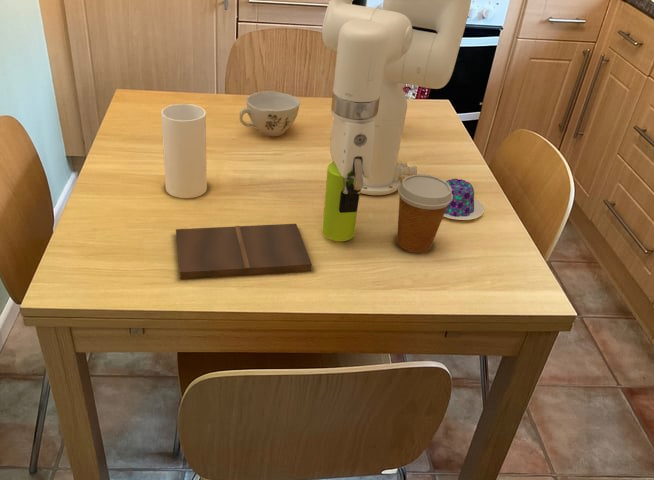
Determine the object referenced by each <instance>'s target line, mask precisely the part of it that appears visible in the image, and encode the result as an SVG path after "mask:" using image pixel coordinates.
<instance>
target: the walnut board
mask: <svg viewBox="0 0 654 480" xmlns="http://www.w3.org/2000/svg"><path fill="white" fill-rule="evenodd" d="M175 239H176V248H177V249H176V250H177V257H178V267H179V268H178V269H179V279H180V280H193V279H194V280H195V279H208V278H223V277H224V278H225V277H239V276H240V277H241V276H254V275H255V276H256V275H272V274H273V275H274V274H288V273H305V272H312V267H313V263H312V261H311V258H310V256H309V253H308V250H307V248H306V245H305V242H304V240H303V238H302V235H301V232H300V230H299V227H298V225H297V223H277V224H257V225H256V224H255V225H235V226H217V227H215V226H214V227H196V228H194V227H193V228H176V229H175Z"/></svg>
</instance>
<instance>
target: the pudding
mask: <svg viewBox="0 0 654 480" xmlns="http://www.w3.org/2000/svg"><path fill="white" fill-rule="evenodd" d="M445 181H446V182H447V183H448V184H449V185H450V186H451V189H452V194H453V199H452V201H451V202H450V203H449V205H448V206H447V208H446V211H445V213H444V216H443V218H448V219H452V220H457V221H458V220H459V221H470V220H473V219H474V220H475V219H478V218H480V217H481V216H482V215H483V214H485V213H484V212H485V207H484V204H483V203H482V202H481V201H480V200H479V199H477V198H476V197H475V189H474V187H473V185H472V183H471V182H469V181H466V180H465V179H462V178H461V179H458V178H451V179H447V180H445Z"/></svg>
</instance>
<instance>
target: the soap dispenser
mask: <svg viewBox="0 0 654 480" xmlns="http://www.w3.org/2000/svg"><path fill="white" fill-rule="evenodd" d="M348 175H353V171H352V172H350V173H348ZM353 182H354V179H348V186H349V185H350V184H353ZM325 183H326V184H325V194H324V206H323V207H324V208H323V217H322V230H321V231H322V235H323V236H324V237H325V238H326V239H328V240H331V241H335V242H345V241H349V240H352V238H353V237H354V236H355V231H356V223H357V216H358V215H357V214H358V210H357V211H356V212H347V213H340V212H339V203H340V195H341V191H343V177H342V176H341V174H340V173H339V171H338V169H337V167H336V164H335V163H334V162H333V161H332V162H330V163H329V164H328V166H327V170H326V182H325Z"/></svg>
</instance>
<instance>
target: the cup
mask: <svg viewBox="0 0 654 480" xmlns="http://www.w3.org/2000/svg"><path fill="white" fill-rule="evenodd" d="M160 114H161V115H160V116H161V131H162V132H161V133H162V150H163V167H164V179H165V180H164V183H165V191H166V192H167V194H169V195H170V196H172V197H175V198H180V199H194V198H198V197H200V196H203V195H204V194H205V193H206V192H207V190H208V174H207V170H208V169H207V167H208V166H207V165H208V163H207V161H208V160H207V114H206V110H205V109H204V108H203V107H201V106H199V105H197V104H191V103H189V104H188V103H175V104H170V105H168V106H167V105H166V106H165V107H163V108H162V109H161V112H160Z"/></svg>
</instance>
